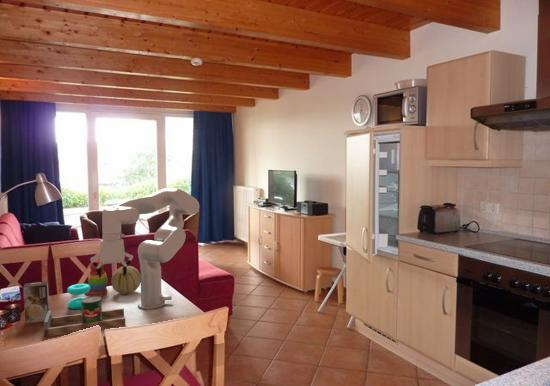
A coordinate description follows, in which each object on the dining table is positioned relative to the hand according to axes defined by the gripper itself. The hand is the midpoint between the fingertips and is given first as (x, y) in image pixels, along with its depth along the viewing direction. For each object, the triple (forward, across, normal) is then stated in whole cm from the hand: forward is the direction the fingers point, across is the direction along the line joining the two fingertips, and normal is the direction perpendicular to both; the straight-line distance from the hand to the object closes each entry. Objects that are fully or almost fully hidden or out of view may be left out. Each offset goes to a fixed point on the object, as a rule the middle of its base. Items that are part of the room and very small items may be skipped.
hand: (112, 276), depth 177 cm
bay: (+20, +10, +2) cm, 22 cm away
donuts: (+20, +16, -24) cm, 35 cm away
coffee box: (+20, +31, -11) cm, 39 cm away
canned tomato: (+20, +8, +2) cm, 22 cm away
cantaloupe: (+19, -5, -38) cm, 43 cm away
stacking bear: (+19, +9, -43) cm, 48 cm away
